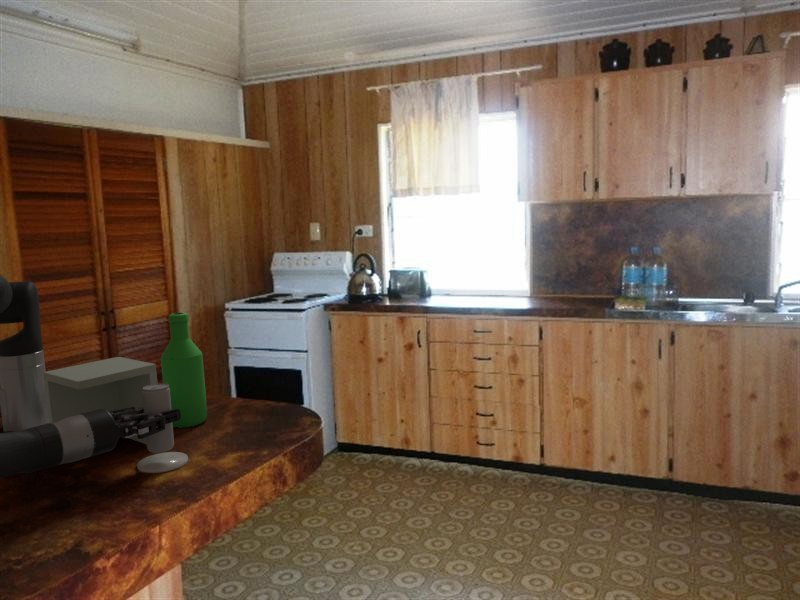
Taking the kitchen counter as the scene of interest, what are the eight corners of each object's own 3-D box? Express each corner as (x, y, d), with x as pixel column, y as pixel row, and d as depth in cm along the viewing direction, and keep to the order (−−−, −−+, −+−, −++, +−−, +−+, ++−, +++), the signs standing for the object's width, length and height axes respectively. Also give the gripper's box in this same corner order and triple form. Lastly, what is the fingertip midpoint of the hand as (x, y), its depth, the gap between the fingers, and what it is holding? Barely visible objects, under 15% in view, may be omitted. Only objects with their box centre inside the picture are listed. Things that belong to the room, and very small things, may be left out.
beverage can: (179, 445, 124) (174, 384, 123) (162, 454, 120) (157, 390, 118) (158, 443, 126) (153, 382, 125) (141, 452, 121) (136, 389, 120)
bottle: (195, 429, 143) (185, 316, 140) (159, 428, 145) (148, 317, 141) (214, 417, 152) (205, 310, 148) (180, 416, 153) (170, 310, 150)
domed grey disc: (137, 476, 118) (136, 473, 118) (137, 459, 126) (137, 456, 126) (189, 467, 121) (189, 464, 121) (186, 451, 129) (186, 449, 129)
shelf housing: (87, 470, 122) (77, 381, 119) (52, 455, 131) (43, 372, 128) (163, 445, 133) (155, 364, 131) (126, 433, 143) (118, 356, 140)
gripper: (99, 421, 106) (191, 397, 119) (59, 408, 115) (149, 387, 128) (104, 466, 107) (194, 437, 120) (64, 449, 116) (152, 424, 129)
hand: (170, 411), depth 124 cm, fingers closed on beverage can, 4 cm apart
